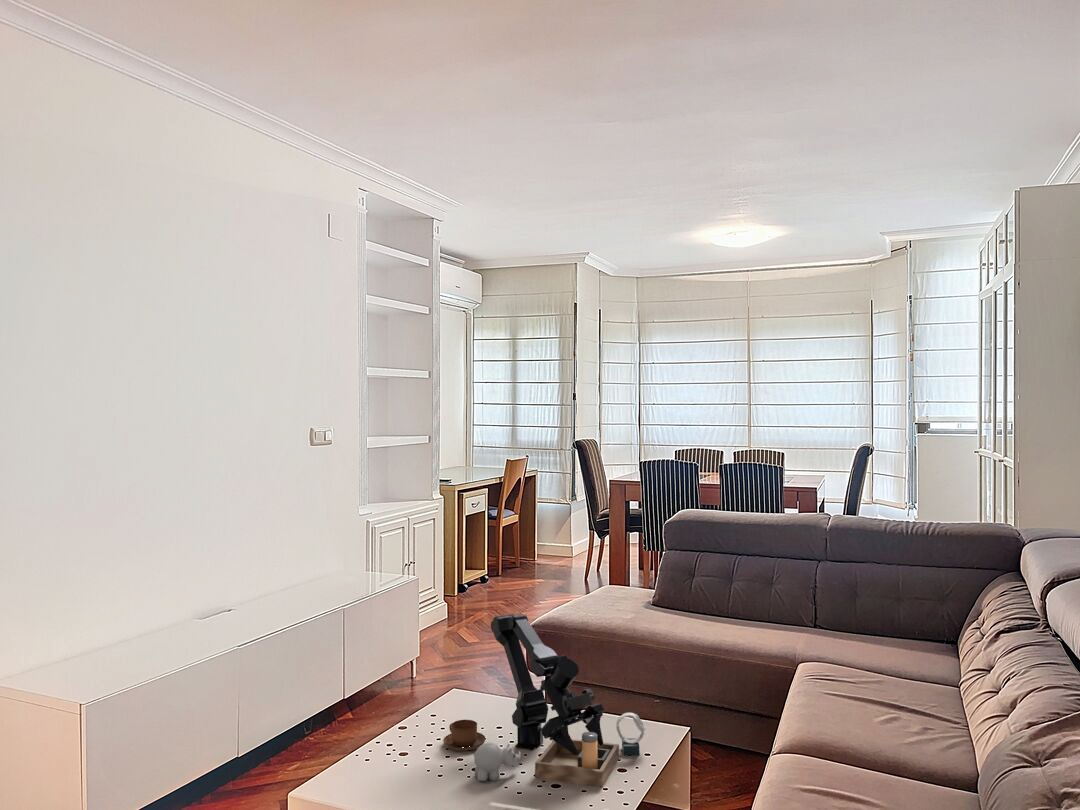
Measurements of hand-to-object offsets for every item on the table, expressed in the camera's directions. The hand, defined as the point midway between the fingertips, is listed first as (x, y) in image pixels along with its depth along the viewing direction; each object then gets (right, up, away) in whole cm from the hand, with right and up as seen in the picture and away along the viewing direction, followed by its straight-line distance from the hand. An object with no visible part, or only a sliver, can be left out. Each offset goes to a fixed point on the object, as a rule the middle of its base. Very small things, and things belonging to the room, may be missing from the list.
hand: (589, 749), depth 217 cm
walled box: (-3, -8, +6) cm, 10 cm away
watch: (+13, -8, +16) cm, 22 cm away
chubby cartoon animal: (-24, -8, +2) cm, 25 cm away
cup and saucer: (-35, -9, +23) cm, 42 cm away
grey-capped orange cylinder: (0, -7, 0) cm, 7 cm away
